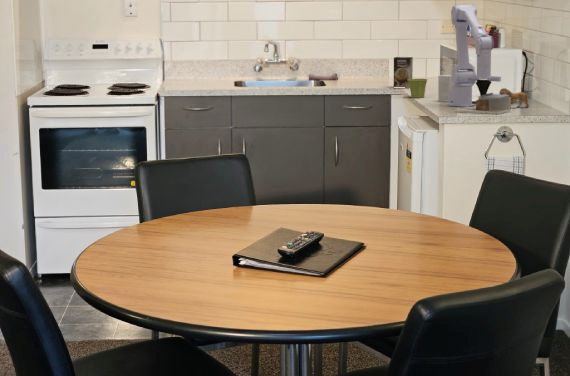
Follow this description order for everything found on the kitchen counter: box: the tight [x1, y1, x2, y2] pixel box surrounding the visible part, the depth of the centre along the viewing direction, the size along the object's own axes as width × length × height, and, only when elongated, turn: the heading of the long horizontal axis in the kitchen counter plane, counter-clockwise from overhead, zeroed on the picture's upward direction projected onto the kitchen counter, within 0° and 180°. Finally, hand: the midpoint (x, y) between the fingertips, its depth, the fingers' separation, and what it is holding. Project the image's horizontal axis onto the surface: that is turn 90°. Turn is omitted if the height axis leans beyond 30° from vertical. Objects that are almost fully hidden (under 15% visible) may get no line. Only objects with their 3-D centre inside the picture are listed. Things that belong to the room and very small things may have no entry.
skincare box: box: [437, 74, 454, 103], centre depth 442 cm, size 6×4×12 cm
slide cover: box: [481, 92, 509, 100], centre depth 401 cm, size 8×11×1 cm
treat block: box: [475, 99, 489, 111], centre depth 405 cm, size 4×4×5 cm
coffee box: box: [393, 56, 414, 88], centre depth 502 cm, size 9×6×16 cm
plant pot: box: [408, 78, 428, 99], centre depth 460 cm, size 9×9×9 cm
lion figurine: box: [499, 87, 530, 110], centre depth 413 cm, size 15×5×9 cm, turn 110°
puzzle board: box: [454, 95, 512, 115], centre depth 405 cm, size 20×12×6 cm, turn 56°
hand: (483, 98), depth 404 cm, fingers closed
